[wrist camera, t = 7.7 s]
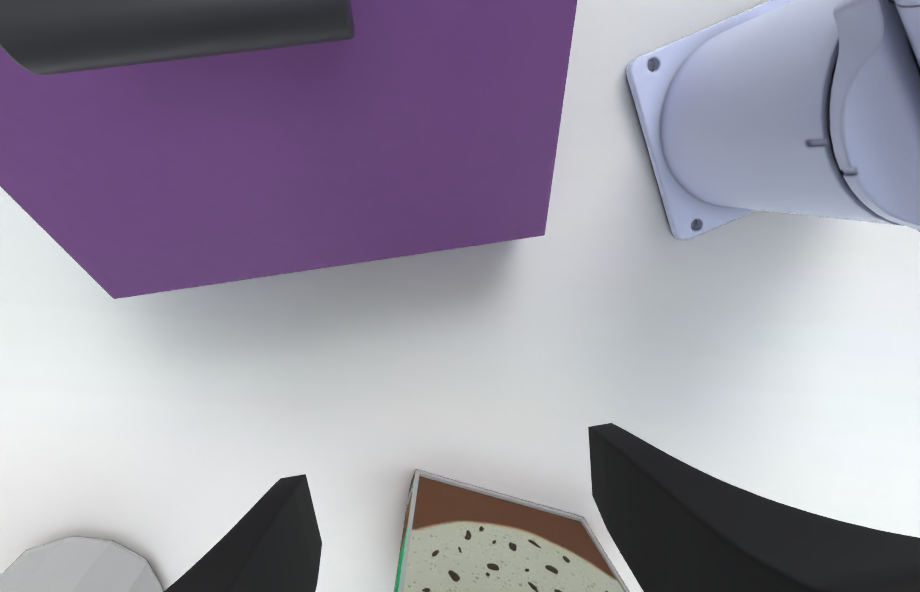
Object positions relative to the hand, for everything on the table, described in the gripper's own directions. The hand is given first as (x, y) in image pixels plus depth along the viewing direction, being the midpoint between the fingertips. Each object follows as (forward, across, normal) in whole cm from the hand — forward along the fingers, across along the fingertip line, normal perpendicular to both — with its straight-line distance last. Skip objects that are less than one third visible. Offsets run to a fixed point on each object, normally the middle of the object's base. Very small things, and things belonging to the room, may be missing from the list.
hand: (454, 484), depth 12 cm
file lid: (+3, +3, -10) cm, 11 cm away
